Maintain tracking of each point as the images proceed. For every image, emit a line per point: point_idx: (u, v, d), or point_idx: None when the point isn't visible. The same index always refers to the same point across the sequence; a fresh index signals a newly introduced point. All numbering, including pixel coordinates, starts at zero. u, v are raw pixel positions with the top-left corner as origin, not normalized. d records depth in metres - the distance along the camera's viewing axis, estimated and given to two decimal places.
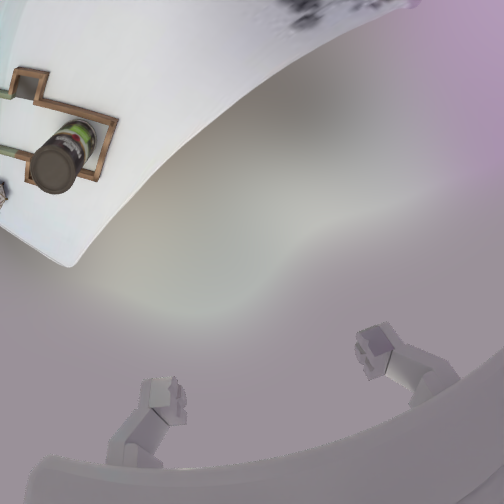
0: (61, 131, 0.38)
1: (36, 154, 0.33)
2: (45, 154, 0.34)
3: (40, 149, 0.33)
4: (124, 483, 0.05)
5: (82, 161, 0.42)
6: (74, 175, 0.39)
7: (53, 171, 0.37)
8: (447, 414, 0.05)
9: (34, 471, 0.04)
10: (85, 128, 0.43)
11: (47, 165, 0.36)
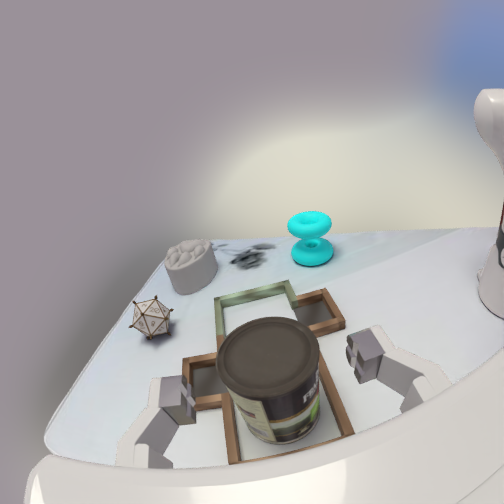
0: None
1: (281, 320, 0.29)
2: (290, 332, 0.27)
3: (294, 321, 0.28)
4: (124, 483, 0.05)
5: (291, 411, 0.23)
6: (282, 391, 0.21)
7: (267, 354, 0.25)
8: (447, 414, 0.05)
9: (34, 471, 0.04)
10: (318, 406, 0.29)
11: (273, 342, 0.26)
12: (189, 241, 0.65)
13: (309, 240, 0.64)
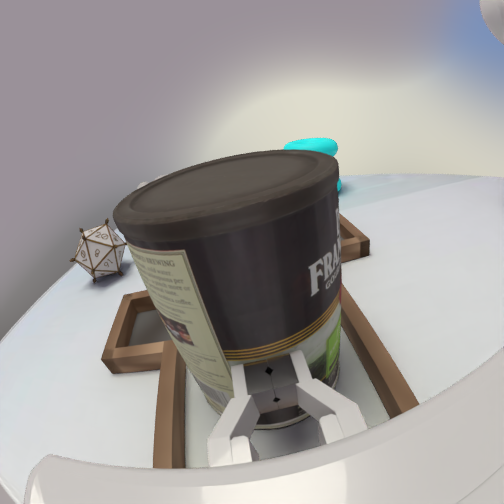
0: None
1: (260, 153, 0.15)
2: (274, 157, 0.14)
3: (283, 150, 0.15)
4: (124, 483, 0.05)
5: (280, 318, 0.10)
6: (242, 203, 0.08)
7: (222, 177, 0.12)
8: (447, 414, 0.05)
9: (34, 471, 0.04)
10: None
11: (238, 167, 0.13)
12: (165, 175, 0.51)
13: None
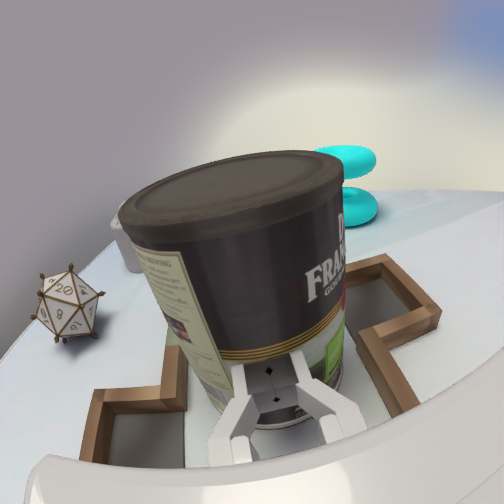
0: None
1: (271, 153, 0.15)
2: (282, 158, 0.14)
3: (293, 151, 0.15)
4: (124, 483, 0.05)
5: (275, 323, 0.10)
6: (235, 208, 0.08)
7: (227, 178, 0.12)
8: (447, 414, 0.05)
9: (34, 471, 0.04)
10: (341, 355, 0.15)
11: (245, 168, 0.13)
12: None
13: None
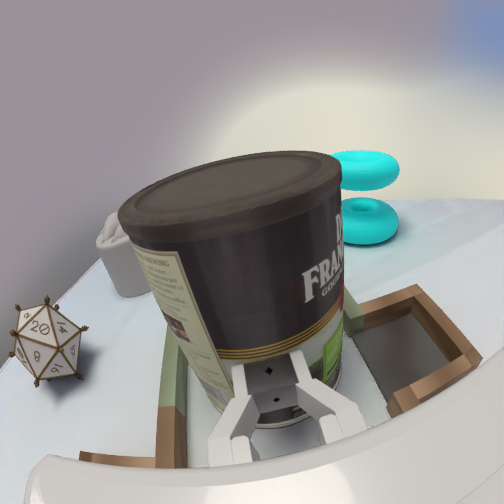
0: None
1: (270, 153, 0.15)
2: (282, 158, 0.14)
3: (293, 151, 0.15)
4: (124, 483, 0.05)
5: (272, 322, 0.10)
6: (231, 209, 0.08)
7: (226, 178, 0.12)
8: (447, 414, 0.05)
9: (34, 471, 0.04)
10: (340, 355, 0.15)
11: (244, 168, 0.13)
12: None
13: (356, 201, 0.34)
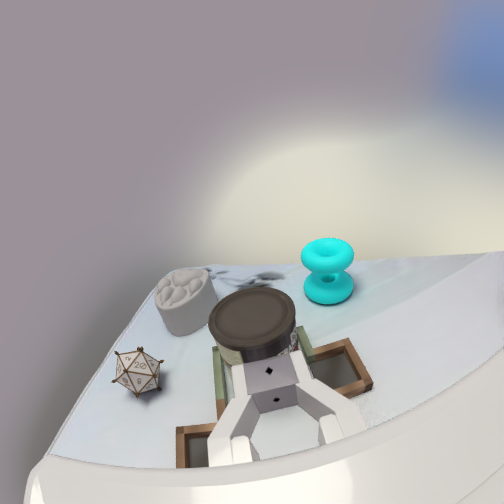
0: None
1: (268, 289, 0.34)
2: (273, 299, 0.33)
3: (279, 291, 0.34)
4: (124, 483, 0.05)
5: None
6: (256, 343, 0.27)
7: (251, 315, 0.31)
8: (447, 414, 0.05)
9: (34, 471, 0.04)
10: None
11: (257, 306, 0.32)
12: (183, 271, 0.54)
13: None
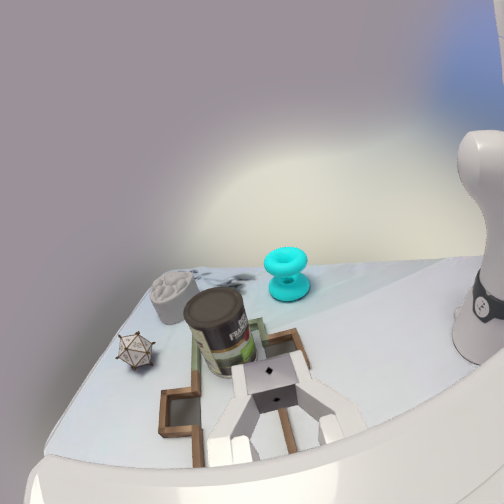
0: None
1: (227, 289, 0.47)
2: (229, 295, 0.46)
3: (234, 290, 0.47)
4: (124, 483, 0.05)
5: (223, 344, 0.42)
6: (212, 325, 0.40)
7: (212, 306, 0.44)
8: (447, 414, 0.05)
9: (34, 471, 0.04)
10: (252, 354, 0.47)
11: (217, 300, 0.45)
12: (173, 273, 0.67)
13: None
